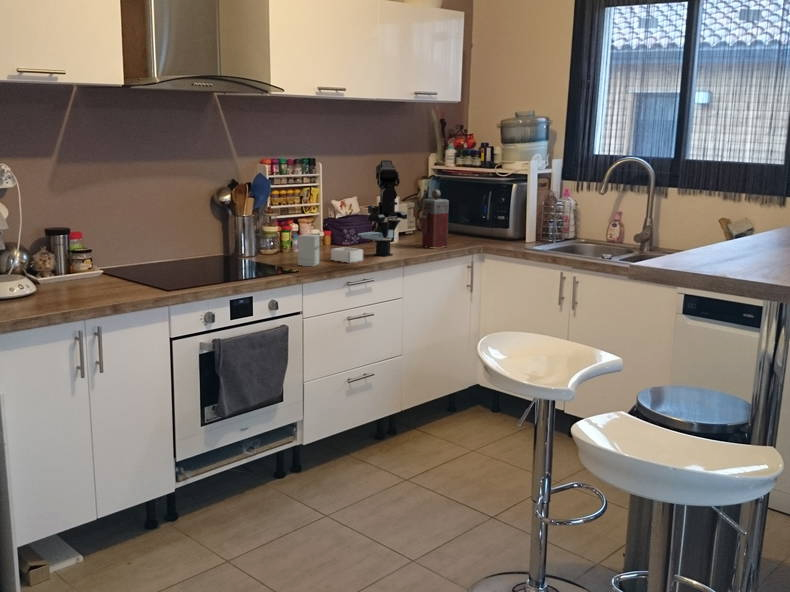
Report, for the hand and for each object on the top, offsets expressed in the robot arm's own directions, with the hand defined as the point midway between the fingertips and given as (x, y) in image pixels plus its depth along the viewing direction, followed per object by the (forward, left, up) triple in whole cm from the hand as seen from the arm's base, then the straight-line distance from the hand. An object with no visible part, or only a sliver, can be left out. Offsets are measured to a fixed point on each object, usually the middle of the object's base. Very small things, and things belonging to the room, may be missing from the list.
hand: (387, 237), depth 330 cm
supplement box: (+19, -27, -13) cm, 35 cm away
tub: (0, -23, -12) cm, 26 cm away
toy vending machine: (-59, -21, -13) cm, 64 cm away
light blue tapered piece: (0, -5, -1) cm, 6 cm away
